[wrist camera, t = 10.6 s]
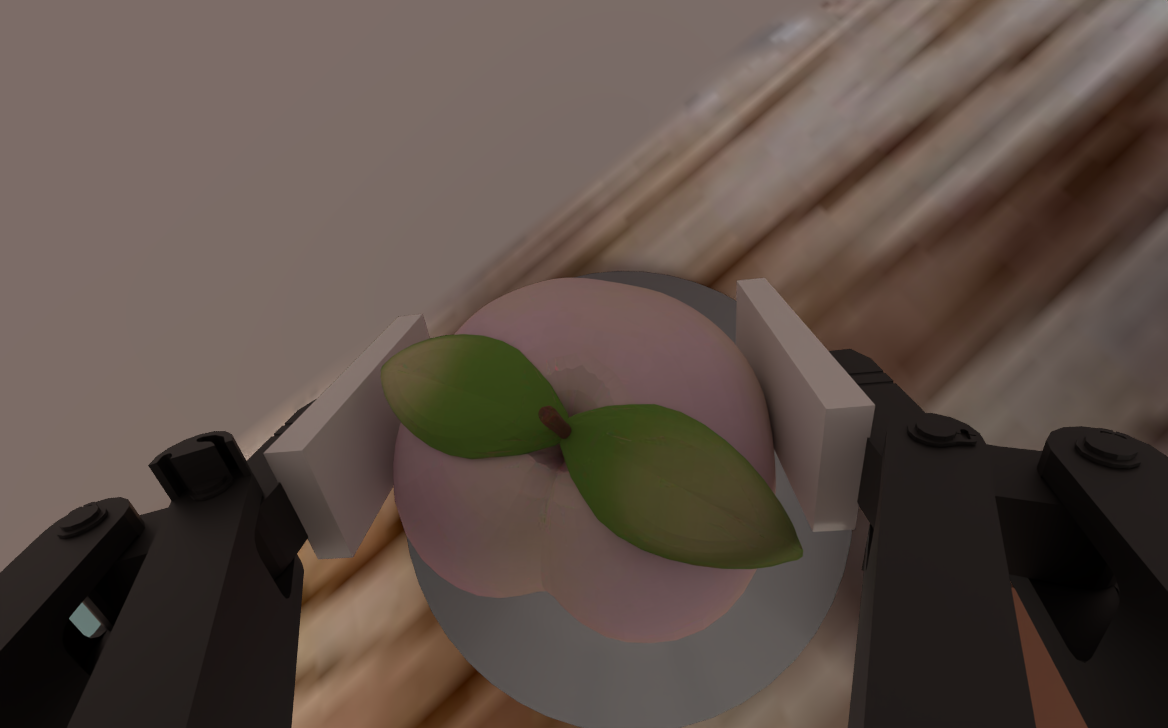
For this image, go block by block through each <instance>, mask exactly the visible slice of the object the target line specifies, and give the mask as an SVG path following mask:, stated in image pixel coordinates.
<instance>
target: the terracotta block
mask: <svg viewBox="0 0 1168 728" xmlns="http://www.w3.org/2000/svg"><path fill="white" fill-rule="evenodd" d="M1011 589H1012V595H1013V600H1014V606H1015V611H1016V617H1017V623H1018V628H1019V634H1020V639H1021V645H1022V651H1023V656H1024V662H1025V667H1026V673H1027V679H1028V684H1029V690H1030V695H1031V701H1032V707H1033V712H1034V718H1035V723H1036V728H1088V727H1087V725H1086V723H1085V721H1084V720H1083V718H1082V716H1081V714H1080V712H1079V710H1078V708H1077V706H1076V704H1075V702H1074V701H1073V699H1072V697H1071V695H1070V693H1069V691H1068V689H1067V687H1066V685H1065V683H1064V682H1063V680H1062V678H1061V676H1060V674H1059V672H1058V670H1057V668H1056V666H1055V664H1054V663H1053V661H1052V659H1051V657H1050V655H1049V653H1048V651H1047V649H1046V647H1045V645H1044V643H1043V642H1042V640H1041V638H1040V636H1039V634H1038V632H1037V630H1036V628H1035V626H1034V624H1033V623H1032V621H1031V619H1030V617H1029V615H1028V613H1027V611H1026V609H1025V607H1024V605H1023V604H1022V602H1021V600H1020V598H1019V596H1018V594H1017V592H1016V590H1015V588H1012V587H1011Z"/></svg>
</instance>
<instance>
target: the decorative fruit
mask: <svg viewBox="0 0 1168 728" xmlns="http://www.w3.org/2000/svg"><path fill="white" fill-rule="evenodd" d="M380 377H381V384H382V388H383V392H384V395H385V398H386V400H387V402H388V403H389V405H390V407H391V409H392V411H393V412H394V414H395V415H396V416H397V418H398V419H399V420H400V421H401V423H400V426H399V430H398V434H397V438H396V443H395V452H394V461H393V481H394V495H395V503H396V506H397V509H398V512H399V515H400V518H401V521H402V524H403V527H404V530H405V532H406V535H407V537H408V539H409V540H410V542H411V543H412V545H413V546H414V548H415V549H416V551H417V553H418V554H419V556H420V557H421V559H422V560H423V561H424V562H425V563H426V564H427V565H428V566H429V567H430V568H432V569H433V570H434V571H435V572H436V573H437V574H438V575H439V576H440V577H442V578H443V579H445V580H446V581H448V582H449V583H451V584H452V585H454V586H455V587H457V588H459V589H462V590H464V591H467V592H470V593H472V594H475V595H477V596H485V597H494V598H505V597H513V596H521V595H525V594H530V593H534V592H540V591H547V592H548V593H550V594H551V595H552V596H554V597H555V599H556V600H557V601H558V602H559V604H560V605H561V606H562V607H563V608H564V609H565V610H567V611H568V612H569V613H570V614H571V615H572V616H573V617H574V618H576V619H577V620H578V621H579V622H581V623H582V624H583V625H585V626H587V627H589V628H591V629H592V630H594V631H596V632H598V633H600V634H602V635H603V636H605V637H608V638H612V639H616V640H620V641H624V642H632V643H657V642H665V641H674V640H678V639H681V638H683V637H686V636H689V635H691V634H694V633H696V632H699V631H702V630H704V629H705V628H707V627H708V626H709V625H711V624H712V623H713V622H715V621H716V620H717V619H719V618H720V617H721V616H723V615H724V614H725V613H727V611H728V610H729V609H730V608H731V607H732V606H733V604H734V603H735V602H736V601H737V600H738V598H739V597H740V596H741V595H742V594H743V593H744V591H745V589H746V588H747V586H748V584H749V582H750V581H751V579H752V577H753V575H754V574H755V572H756V570H757V568H766V567H773V566H776V565H779V564H782V563H786V562H790V561H796V560H799V559H800V558H801V557H803V551H804V550H803V548H802V546H801V544H800V541H799V539H798V536H797V533H796V531H795V528H794V525H793V523H792V522H791V520H790V518H789V516H788V515H787V513H786V511H785V509H784V507H783V506H782V504H781V503H780V501H779V500H778V498H777V497H776V496H775V495H776V469H775V455H774V444H773V435H772V429H771V423H770V417H769V412H768V408H767V403H766V399H765V396H764V393H763V390H762V388H761V385H760V383H759V381H758V379H757V377H756V375H755V373H754V371H753V369H752V367H751V366H750V364H749V363H748V361H747V359H746V358H745V356H744V355H743V353H742V352H741V351H740V350H739V348H738V347H737V346H736V345H735V343H734V342H733V341H732V340H731V339H730V338H729V337H728V336H727V335H726V334H725V333H724V332H723V331H722V330H721V329H720V328H719V327H718V326H716V325H715V324H714V323H713V322H712V321H711V320H709V319H708V318H707V317H705V316H704V315H702V314H701V313H700V312H698V311H697V310H695V309H693V308H692V307H690V306H688V305H686V304H685V303H683V302H681V301H679V300H677V299H675V298H673V297H670V296H668V295H666V294H663V293H661V292H657V291H654V290H650V289H646V288H642V287H637V286H632V285H627V284H622V283H615V282H609V281H603V280H596V279H588V278H556V279H551V280H546V281H542V282H538V283H534V284H531V285H528V286H525V287H522V288H519V289H516V290H514V291H512V292H510V293H507V294H505V295H503V296H501V297H499V298H497V299H495V300H493V301H491V302H490V303H488V304H487V305H485V306H484V307H482V308H481V309H479V310H478V311H477V312H476V313H475V314H474V315H472V316H471V317H470V318H469V319H468V320H467V321H466V322H465V323H464V324H463V325H462V326H461V327H460V328H459V329H458V330H457V332H456V333H455V334H454V335H445V336H440V337H435V338H430V339H427V340H424V341H421V342H418V343H415V344H413V345H411V346H409V347H407V348H405V349H403V350H401V351H400V352H398V353H397V354H395V355H394V356H392V357H391V358H390V359H389V360H388V361H387V362H386V363H385V364H384V365H383V366H382V368H381V376H380Z"/></svg>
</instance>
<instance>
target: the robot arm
mask: <svg viewBox="0 0 1168 728" xmlns="http://www.w3.org/2000/svg"><path fill="white" fill-rule="evenodd" d="M427 339H430V337H429V334H428V330H427V327H426V324H425V320H424V317H423V314H416V315H407V316H398V317H397V318H396V319H395V320H394V321H393V322H392V323H391V324H390V325H389V326H388V327H387V328H386V329H385V330H384V331H383V332H382V333H381V334H380V335H379V336H378V338H376V339H375V340H374V341H373V343H372V344H371V345H370V346H369V347H368V348H367V349H366V350H365V351H364V352H363V353H362V354H361V355H360V356H359V357H358V358H357V359H356V360H355V361H354V362H353V363H352V364H351V365H350V366H349V367H348V368H347V369H346V370H345V371H344V372H343V373H342V374H341V375H340V376H339V377H338V378H337V379H336V380H335V381H334V382H333V383H332V384H331V385H330V386H329V387H328V388H327V389H326V390H325V391H324V392H323V393H322V394H321V395H320V396H319V397H318V398H317V399H315V400H314V401H312V402H311V403H309V404H307V405H306V406H304V407H303V408H301V409H299V410H298V411H297V412H296V413H295V414H294V415H293V416H292V417H291V418H290V419H289V420H288V421H287V422H286V423H285V426H282V427H281V428H280V429H279V430H278V431H277V432H276V433H275V434H274V436H273V437H271V438H270V439H269V440H268V441H266V442H265V443H264V444H263V445H262V446H261V447H260V448H259V449H258V450H257V451H256V452H255V453H254V454H253V455H252V456H251V457H250V458H249V459H248V460H247V461H246V459H245V458H244V456H243V454H242V452H241V450H240V448H239V447H238V445H237V443H236V441H235V439H234V438H233V436H232V434H230V433H228V432H225V431H216V432H215V431H214V432H209V433H205V434H200V435H197V436H195V437H192V438H189V439H186V440H184V441H182V442H180V443H178V444H176V445H174V446H172V447H170V448H168V449H167V450H165V451H164V452H162V453H161V454H160V455H158V456H157V457H155V459H154V460H153V461H152V462H151V463H150V464H149V465H148V466H149V467H150V468H151V470H152V472H153V473H154V475H155V476H156V478H157V479H158V481H159V482H160V484H161V485H162V487H163V488H164V490H165V492H166V493H167V495H168V496H169V498H170V499H171V504H170V506H169V508H165V509H161V510H158V511H154V512H150V513H147V514H143V515H139V514H138V513H137V512H136V510H135V509H134V507H133V506H132V504H131V503H130V502H129V500H128V499H124V498H121V497H118V498H108V499H105V500H101V501H98V502H91V503H89V504H86V505H84V506H83V507H79V508H77V509H75V510H73V511H71V512H70V513H69V514H68V515H67V516H65V517H64V518H62V519H60V520H58V521H57V522H56V523H54V524H53V525H52V526H50V527H49V528H48V529H47V530H45V531H44V532H43V533H42V534H41V535H40V536H39V537H38V538H37V539H36V540H34V541H33V542H32V543H31V544H30V545H29V546H28V547H27V548H26V549H25V550H24V551H23V552H22V553H21V554H20V555H19V556H17V557H16V558H15V559H14V560H13V561H12V562H11V563H10V564H9V565H8V566H7V567H6V568H5V569H4V570H3V571H2V572H1V573H0V728H291V725H292V713H293V700H294V688H295V675H296V663H297V651H298V638H299V626H300V613H301V601H302V588H303V576H304V569H303V565H302V562H301V560H300V559H299V557H298V555H297V553H298V551H299V550H300V549H301V547H302V546H303V544H304V543H305V541H306V540H307V539H308V541H309V542H310V544H311V546H312V548H313V550H314V552H315V554H316V556H317V558H318V559H332V558H350V557H353V556H354V555H355V553H356V551H357V549H358V547H359V546H360V544H361V542H362V540H363V539H364V537H365V535H366V533H367V532H368V530H369V528H370V526H371V524H372V523H373V521H374V519H375V517H376V516H377V514H378V512H379V510H380V509H381V507H382V505H383V503H384V501H385V500H386V498H387V496H388V494H389V493H390V491H391V489H392V487H393V485H394V481H393V461H394V452H395V443H396V438H397V434H398V430H399V426H400V423H401V421H400V420H399V419H398V418H397V416H396V415H395V414H394V412H393V411H392V409H391V407H390V405H389V403H388V402H387V400H386V398H385V395H384V392H383V388H382V384H381V377H380V376H381V368H382V366H383V365H384V364H385V363H386V362H387V361H388V360H389V359H390V358H391V357H392V356H394V355H395V354H397V353H398V352H400V351H401V350H403V349H405V348H407V347H409V346H411V345H413V344H415V343H418V342H421V341H424V340H427ZM736 346H737V347H738V348H739V350H740V351H741V352H742V353H743V355H744V356H745V358H746V359H747V361H748V363H749V364H750V366H751V367H752V369H753V371H754V373H755V375H756V377H757V379H758V381H759V383H760V385H761V388H762V390H763V393H764V396H765V399H766V403H767V408H768V412H769V417H770V423H771V429H772V435H773V444H774V450H775V452H776V454H777V456H778V458H779V461H780V463H781V465H782V467H783V469H784V471H785V473H786V476H787V478H788V480H789V482H790V484H791V486H792V488H793V491H794V493H795V495H796V497H797V499H798V501H799V503H800V506H801V508H802V510H803V512H804V514H805V516H806V518H807V521H808V523H809V525H810V527H811V529H812V531H813V532H819V531H837V530H855V528H856V521H857V515H858V509H859V506H860V508H861V509H862V511H863V512H864V514H865V516H866V517H867V519H868V521H869V522H870V527H869V532H868V538H867V544H866V549H865V555H864V560H863V566H862V570H863V571H864V575H863V585H862V595H861V605H860V615H859V624H858V634H857V644H856V654H855V664H854V673H853V683H852V693H851V703H850V713H849V722H848V728H1036V723H1035V718H1034V712H1033V707H1032V701H1031V695H1030V690H1029V684H1028V679H1027V673H1026V667H1025V662H1024V656H1023V651H1022V645H1021V639H1020V634H1019V628H1018V623H1017V617H1016V611H1015V606H1014V600H1013V595H1012V589H1011V583H1012V585H1013V586H1014V588H1015V590H1016V592H1017V594H1018V596H1019V598H1020V600H1021V602H1022V604H1023V605H1024V607H1025V609H1026V611H1027V613H1028V615H1029V617H1030V619H1031V621H1032V623H1033V624H1034V626H1035V628H1036V630H1037V632H1038V634H1039V636H1040V638H1041V640H1042V642H1043V643H1044V645H1045V647H1046V649H1047V651H1048V653H1049V655H1050V657H1051V659H1052V661H1053V663H1054V664H1055V666H1056V668H1057V670H1058V672H1059V674H1060V676H1061V678H1062V680H1063V682H1064V683H1065V685H1066V687H1067V689H1068V691H1069V693H1070V695H1071V697H1072V699H1073V701H1074V702H1075V704H1076V706H1077V708H1078V710H1079V712H1080V714H1081V716H1082V718H1083V720H1084V721H1085V723H1086V725H1087V727H1088V728H1168V457H1167V456H1166V455H1164V454H1163V453H1161V452H1160V451H1158V450H1157V449H1155V448H1154V447H1152V446H1151V445H1149V444H1146V443H1144V442H1142V441H1139V440H1137V439H1135V438H1132V437H1130V436H1129V435H1126V434H1123V433H1120V432H1113V431H1112V430H1107V429H1103V428H1090V427H1082V426H1081V427H1063V428H1060V429H1058V430H1055V431H1052V432H1051V433H1050V435H1049V437H1048V438H1047V440H1046V443H1045V446H1044V449H1043V451H1035V450H1026V449H1017V448H1008V447H999V446H993V445H987V444H986V443H985V442H984V440H983V438H982V436H981V435H980V433H978V432H977V431H976V430H974V429H973V428H972V427H970V426H969V425H967V424H965V423H963V422H960V421H958V420H956V419H953V418H951V417H947V416H942V415H938V414H934V413H925V412H924V411H923V410H922V409H921V408H920V407H919V406H918V405H917V404H916V403H915V402H914V401H913V400H912V399H911V398H910V397H909V396H908V395H907V394H906V393H905V392H904V391H903V390H902V389H901V388H900V387H899V386H898V385H897V384H896V383H895V384H894V383H893V380H892V379H891V378H890V377H889V376H888V375H887V374H886V373H883V370H882V369H881V368H880V367H879V366H878V365H877V364H876V363H875V362H874V361H873V360H872V359H871V358H868V357H866V356H864V355H862V354H860V353H858V352H856V351H854V350H852V349H846V350H835V351H828V350H827V349H826V348H825V347H824V345H823V344H822V343H821V342H820V341H819V340H818V339H817V337H816V336H815V335H814V334H813V333H812V332H811V330H810V329H809V328H808V327H807V326H806V325H805V324H804V322H803V321H802V320H801V319H800V318H799V317H798V316H797V314H796V313H795V312H794V311H793V310H792V309H791V307H790V306H789V305H788V304H787V303H786V302H785V301H784V299H783V298H782V297H781V296H780V295H779V294H778V292H777V291H776V290H775V289H774V288H773V287H772V286H771V284H770V283H769V282H768V281H767V280H766V279H765V278H758V279H748V280H739V281H737V304H736ZM1010 581H1011V583H1010ZM81 603H83V604H84V605H85V606H86V607H87V609H88V610H89V611H90V612H91V613H92V614H93V615H94V617H95V618H96V619H97V620H98V621H99V622H100V624H101V625H100V626H99V627H98V629H97V630H96V631H95V633H94V634H92V635H91V636H90V637H87V636H85V635H83V634H82V632H81V631H80V630H79V629H78V628H77V627H76V626H75V625H74V624H73V623H72V621H71V620H70V619H69V618H70V616H71V615H72V614H73V613H74V612H75V610H76V609H77V608H78V607H79V606H80V604H81Z"/></svg>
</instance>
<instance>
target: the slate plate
mask: <svg viewBox="0 0 1168 728" xmlns="http://www.w3.org/2000/svg"><path fill="white" fill-rule="evenodd" d="M574 278H588V279H596V280H603V281H609V282H615V283H622V284H627V285H632V286H637V287H642V288H646V289H650V290H654V291H657V292H661V293H663V294H666V295H668V296H670V297H673V298H675V299H677V300H679V301H681V302H683V303H685V304H686V305H688V306H690V307H692V308H693V309H695V310H697V311H698V312H700V313H701V314H702V315H704V316H705V317H707V318H708V319H709V320H711V321H712V322H713V323H714V324H715V325H716V326H718V327H719V328H720V329H721V330H722V331H723V332H724V333H725V334H726V335H727V336H728V337H729V338H730V339H731V340H732V341H733V342H734V343H735V345H736V304H737V301H735V300H733V299H731V298H730V297H728V296H726V295H724V294H722V293H720V292H718V291H716V290H713V289H711V288H708V287H706V286H703V285H701V284H698V283H696V282H692V281H688V280H685V279H681V278H677V277H673V276H670V275H663V274H656V273H649V272H632V271H614V272H603V273H593V274H588V275H583V276H578V277H574ZM774 455H775V469H776V495H775V496H776V497H777V498H778V500H779V501H780V503H781V504H782V506H783V507H784V509H785V511H786V513H787V515H788V516H789V518H790V520H791V522H792V523H793V525H794V528H795V531H796V533H797V536H798V539H799V541H800V544H801V546H802V548H803V550H804V551H803V557H801V558H800V559H799V560H796V561H790V562H786V563H782V564H779V565H776V566H773V567H766V568H757V570H756V572H755V574H754V575H753V577H752V579H751V581H750V582H749V584H748V586H747V588H746V589H745V591H744V593H743V594H742V595H741V596H740V597H739V598H738V600H737V601H736V602H735V603H734V604H733V606H732V607H731V608H730V609H729V610H728V611H727V613H725V614H724V615H723V616H721V617H720V618H719V619H717V620H716V621H715V622H713V623H712V624H711V625H709V626H708V627H707V628H705V629H704V630H702V631H699V632H696V633H694V634H691V635H689V636H686V637H683V638H681V639H678V640H674V641H665V642H657V643H632V642H624V641H620V640H616V639H612V638H608V637H605V636H603V635H602V634H600V633H598V632H596V631H594V630H592V629H591V628H589V627H587V626H585V625H583V624H582V623H581V622H579V621H578V620H577V619H576V618H574V617H573V616H572V615H571V614H570V613H569V612H568V611H567V610H565V609H564V608H563V607H562V606H561V605H560V604H559V602H558V601H557V600H556V599H555V597H554V596H552V595H551V594H550V593H548V592H547V591H540V592H534V593H530V594H525V595H521V596H513V597H505V598H494V597H485V596H477V595H475V594H472V593H470V592H467V591H464V590H462V589H459V588H457V587H455V586H454V585H452V584H451V583H449V582H448V581H446V580H445V579H443V578H442V577H440V576H439V575H438V574H437V573H436V572H435V571H434V570H433V569H432V568H430V567H429V566H428V565H427V564H426V563H425V562H424V561H423V560H422V559H421V557H420V556H419V554H418V553H417V551H416V549H415V548H414V546H413V545H412V543H411V542H410V540H409V539H408V537H407V540H408V546H409V552H410V556H411V559H412V563H413V566H414V569H415V572H416V576H417V579H418V582H419V585H420V587H421V589H422V591H423V593H424V596H425V598H426V600H427V602H428V604H429V607H430V609H431V611H432V613H433V614H434V616H435V617H436V619H437V621H438V622H439V624H440V626H441V627H442V629H443V630H444V632H445V634H446V635H447V637H448V638H449V639H450V641H451V642H452V643H453V644H454V645H455V647H456V648H457V649H458V650H459V651H460V653H461V654H462V655H463V656H464V658H465V659H466V660H467V661H468V662H469V663H470V664H471V665H472V666H473V667H474V668H475V669H476V670H477V671H479V672H480V673H481V674H482V675H483V676H484V677H485V678H486V679H487V680H488V681H489V682H490V683H492V684H493V685H494V686H496V687H497V688H499V689H500V690H502V691H503V692H505V693H506V694H507V695H509V696H510V697H512V698H513V699H515V700H516V701H518V702H519V703H521V704H523V705H525V706H527V707H529V708H531V709H533V710H535V711H537V712H539V713H541V714H544V715H546V716H548V717H550V718H554V719H557V720H560V721H563V722H566V723H569V724H572V725H575V726H578V727H583V728H681V727H684V726H687V725H691V724H694V723H697V722H700V721H704V720H707V719H710V718H713V717H715V716H717V715H719V714H721V713H723V712H725V711H727V710H729V709H731V708H733V707H735V706H737V705H740V704H742V703H743V702H745V701H746V700H748V699H749V698H750V697H752V696H753V695H755V694H756V693H758V692H759V691H760V690H762V689H763V688H765V687H766V686H768V685H769V684H770V683H772V682H773V681H774V680H775V679H776V678H777V677H778V676H779V675H780V674H781V673H782V672H783V671H784V670H785V669H786V668H787V667H788V666H789V665H790V664H791V663H793V662H794V661H795V659H796V658H797V657H798V656H799V654H800V653H801V652H802V650H803V649H804V648H805V646H806V645H807V644H808V643H809V641H810V640H811V639H812V637H813V636H814V635H815V634H816V632H817V630H818V628H819V626H820V625H821V623H822V621H823V619H824V617H825V616H826V614H827V612H828V610H829V608H830V607H831V605H832V603H833V600H834V597H835V595H836V592H837V590H838V587H839V584H840V582H841V579H842V576H843V574H844V570H845V565H846V561H847V556H848V552H849V548H850V543H851V535H852V530H837V531H819V532H813V531H812V529H811V527H810V525H809V523H808V521H807V518H806V516H805V514H804V512H803V510H802V508H801V506H800V503H799V501H798V499H797V497H796V495H795V493H794V491H793V488H792V486H791V484H790V482H789V480H788V478H787V476H786V473H785V471H784V469H783V467H782V465H781V463H780V461H779V458H778V456H777V454H776V452H775V450H774Z"/></svg>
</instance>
